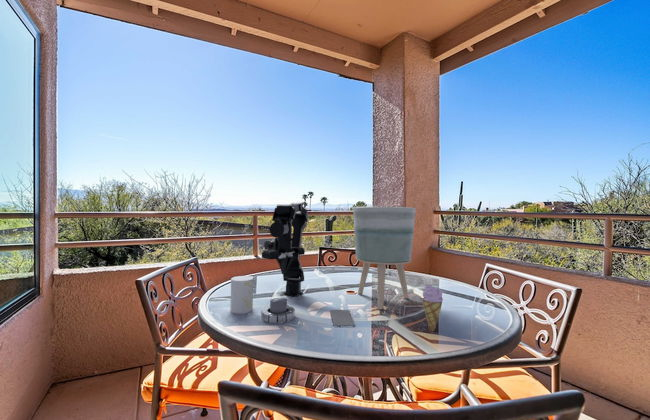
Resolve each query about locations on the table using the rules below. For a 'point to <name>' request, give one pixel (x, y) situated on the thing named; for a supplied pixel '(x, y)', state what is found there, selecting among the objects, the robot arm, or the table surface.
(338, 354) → the table surface
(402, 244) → the planter
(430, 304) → the ice cream cone
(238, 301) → the grey cylinder
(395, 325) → the table surface
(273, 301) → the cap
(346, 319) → the smartphone
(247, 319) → the table surface
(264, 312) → the segmented grey ring
